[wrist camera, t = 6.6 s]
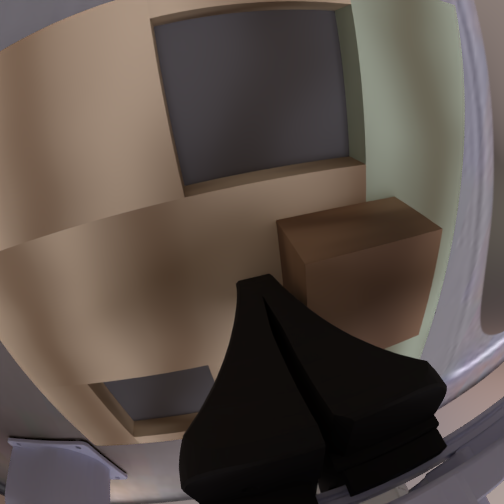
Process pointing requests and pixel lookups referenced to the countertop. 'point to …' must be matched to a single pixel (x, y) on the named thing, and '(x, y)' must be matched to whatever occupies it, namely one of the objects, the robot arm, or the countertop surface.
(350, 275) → the block
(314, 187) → the board
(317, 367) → the robot arm
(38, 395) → the countertop surface
